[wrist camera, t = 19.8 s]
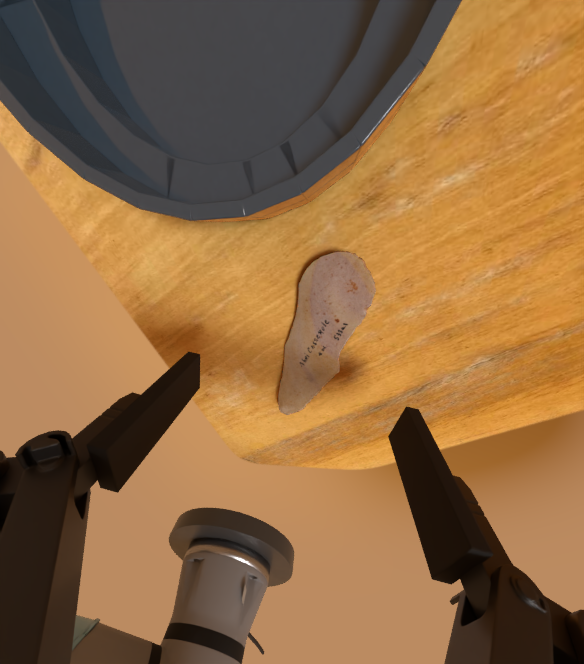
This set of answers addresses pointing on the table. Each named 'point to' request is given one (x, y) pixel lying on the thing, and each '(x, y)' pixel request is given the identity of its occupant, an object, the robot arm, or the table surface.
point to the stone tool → (323, 325)
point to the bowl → (213, 93)
